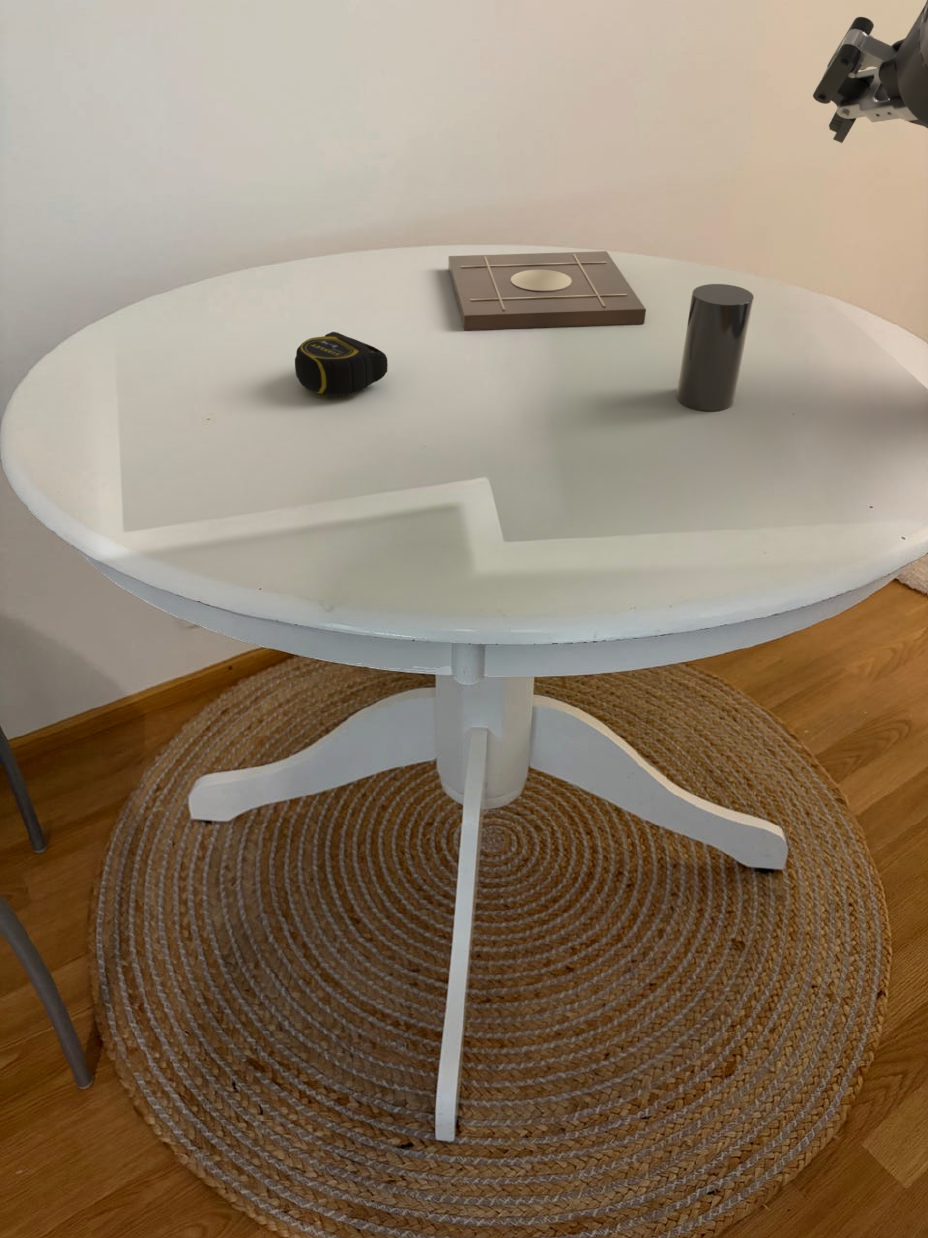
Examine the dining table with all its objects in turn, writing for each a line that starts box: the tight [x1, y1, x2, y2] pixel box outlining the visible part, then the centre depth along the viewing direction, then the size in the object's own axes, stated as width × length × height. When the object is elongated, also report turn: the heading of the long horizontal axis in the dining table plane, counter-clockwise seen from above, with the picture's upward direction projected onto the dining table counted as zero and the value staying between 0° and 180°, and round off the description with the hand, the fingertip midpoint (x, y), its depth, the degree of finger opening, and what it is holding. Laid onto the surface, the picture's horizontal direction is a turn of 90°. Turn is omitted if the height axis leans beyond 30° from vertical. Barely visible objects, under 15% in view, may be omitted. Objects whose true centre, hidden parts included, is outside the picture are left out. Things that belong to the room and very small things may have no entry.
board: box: [448, 250, 647, 331], centre depth 100 cm, size 18×18×2 cm
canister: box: [676, 283, 754, 412], centre depth 79 cm, size 5×5×9 cm
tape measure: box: [294, 331, 389, 397], centre depth 82 cm, size 7×7×4 cm
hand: (900, 152), depth 66 cm, fingers open, 8 cm apart
